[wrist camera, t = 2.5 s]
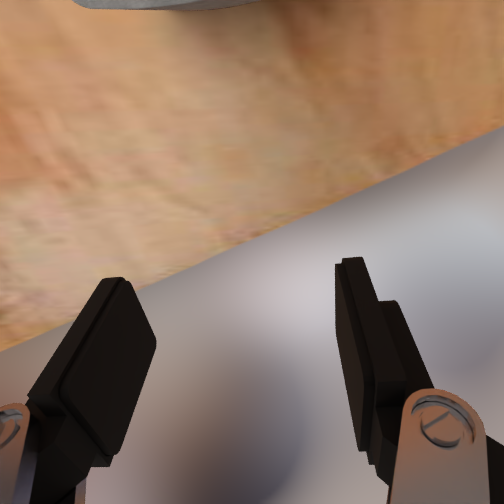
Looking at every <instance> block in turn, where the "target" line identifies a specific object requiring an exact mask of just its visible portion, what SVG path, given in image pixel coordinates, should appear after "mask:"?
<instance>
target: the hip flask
mask: <svg viewBox="0 0 504 504" xmlns="http://www.w3.org/2000/svg"><path fill="white" fill-rule="evenodd" d="M72 1H74V2H75V3H77V4H79V5H80V6H83V7H85V8H90V9H128V10H188V11H190V10H210V9H219V8H227V7H233V6H238V5H243V4H247V3H252V2H256V1H260V0H72Z"/></svg>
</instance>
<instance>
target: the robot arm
mask: <svg viewBox="0 0 504 504" xmlns="http://www.w3.org/2000/svg"><path fill="white" fill-rule="evenodd" d="M335 315H336V316H335V319H336V320H335V324H336V325H335V326H336V337H337V343H338V348H339V353H340V358H341V364H342V369H343V374H344V379H345V385H346V390H347V395H348V400H349V405H350V411H351V416H352V420H353V427H354V432H355V437H356V442H357V447H358V450H359V451H366V453H367V457H368V462H369V465H375V469H376V473H377V476H378V477H379V478H380V479H381V480H383V481H384V482H385V483H386V484H387V485H388V486H389V488H388V496H387V503H386V504H504V446H503V445H502V444H500V443H498V442H497V441H495V440H494V439H492V438H490V437H489V436H487V435H486V433H485V429H484V425H483V422H482V421H481V419H480V417H479V415H478V414H477V412H476V411H475V410H474V409H473V408H472V407H471V406H470V405H469V404H468V403H467V402H466V401H464V400H463V399H461V398H459V397H458V396H457V395H454V394H452V393H450V392H447V391H445V390H439V389H435V388H434V386H433V384H432V381H431V379H430V377H429V374H428V372H427V370H426V367H425V365H424V362H423V360H422V358H421V355H420V353H419V351H418V348H417V346H416V344H415V341H414V339H413V337H412V335H411V332H410V330H409V327H408V325H407V323H406V320H405V318H404V315H403V313H402V311H401V308H400V306H399V305H398V303H397V302H396V301H395V300H392V301H378V298H377V296H376V293H375V290H374V287H373V285H372V282H371V279H370V276H369V273H368V271H367V268H366V265H365V262H364V259H363V257H353V258H343V259H342V263H341V264H335ZM155 349H156V338H155V335H154V333H153V331H152V329H151V326H150V324H149V322H148V320H147V318H146V315H145V313H144V311H143V309H142V306H141V304H140V302H139V300H138V298H137V296H136V293H135V291H134V289H133V287H132V284H131V283H130V282H129V281H126V280H125V279H124V278H123V277H113V278H104V279H102V280H101V281H100V283H99V284H98V286H97V287H96V289H95V291H94V292H93V294H92V295H91V297H90V298H89V300H88V301H87V303H86V305H85V306H84V308H83V309H82V311H81V312H80V314H79V315H78V317H77V319H76V320H75V322H74V323H73V325H72V326H71V328H70V329H69V331H68V333H67V334H66V336H65V337H64V339H63V340H62V342H61V344H60V345H59V346H58V348H57V350H56V351H55V353H54V354H53V356H52V357H51V359H50V360H49V362H48V363H47V365H46V367H45V368H44V370H43V371H42V373H41V374H40V376H39V377H38V379H37V381H36V382H35V384H34V385H33V387H32V388H31V390H30V391H29V393H28V395H27V396H28V397H29V399H28V401H27V403H26V404H25V405H23V404H21V403H12V404H8V405H4V406H2V407H0V504H85V494H86V477H87V475H88V473H89V470H90V468H91V467H110V464H111V462H112V459H113V456H114V455H116V454H117V453H118V452H119V451H120V449H121V446H122V444H123V441H124V438H125V435H126V432H127V429H128V427H129V424H130V421H131V418H132V415H133V412H134V409H135V406H136V404H137V401H138V398H139V395H140V392H141V389H142V387H143V384H144V381H145V378H146V375H147V372H148V369H149V367H150V364H151V361H152V358H153V355H154V352H155Z"/></svg>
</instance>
